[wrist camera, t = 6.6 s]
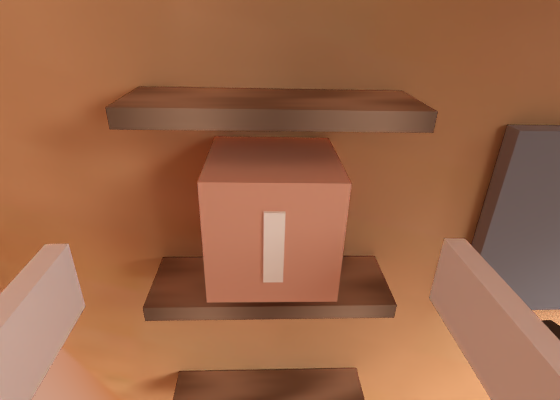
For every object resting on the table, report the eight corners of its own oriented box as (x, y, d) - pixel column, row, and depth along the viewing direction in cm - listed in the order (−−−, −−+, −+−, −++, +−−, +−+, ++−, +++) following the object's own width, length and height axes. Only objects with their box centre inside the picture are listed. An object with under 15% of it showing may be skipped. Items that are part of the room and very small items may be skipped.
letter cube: (328, 137, 18) (352, 185, 13) (319, 233, 21) (337, 304, 16) (215, 136, 18) (196, 183, 13) (220, 232, 21) (206, 304, 16)
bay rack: (446, -180, 13) (514, -250, 10) (355, 376, 26) (369, 434, 23) (98, -197, 13) (33, -279, 9) (180, 379, 26) (167, 439, 22)
